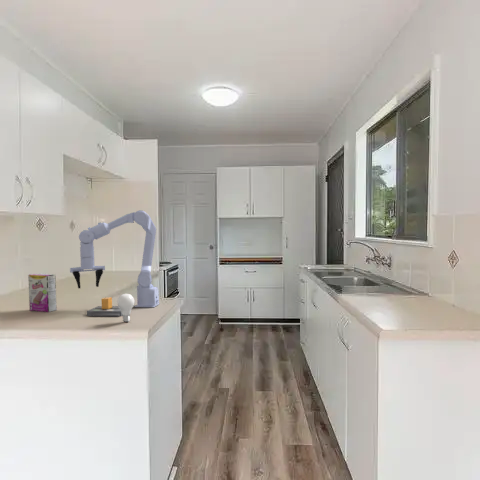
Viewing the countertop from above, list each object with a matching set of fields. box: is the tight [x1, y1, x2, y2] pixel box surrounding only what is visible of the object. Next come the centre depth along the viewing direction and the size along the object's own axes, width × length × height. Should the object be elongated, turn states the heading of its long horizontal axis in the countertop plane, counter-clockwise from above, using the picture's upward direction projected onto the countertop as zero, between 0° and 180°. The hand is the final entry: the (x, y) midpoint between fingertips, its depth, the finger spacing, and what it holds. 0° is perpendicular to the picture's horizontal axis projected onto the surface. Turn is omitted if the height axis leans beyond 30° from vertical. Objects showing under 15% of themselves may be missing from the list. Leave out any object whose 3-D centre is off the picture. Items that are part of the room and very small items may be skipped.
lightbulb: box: [116, 293, 135, 323], centre depth 149 cm, size 6×6×11 cm
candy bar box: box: [27, 273, 57, 313], centre depth 174 cm, size 11×5×16 cm, turn 71°
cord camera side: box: [90, 313, 121, 318], centre depth 160 cm, size 13×1×1 cm, turn 83°
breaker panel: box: [86, 305, 123, 317], centre depth 166 cm, size 15×10×2 cm, turn 83°
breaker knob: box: [101, 296, 113, 309], centre depth 166 cm, size 3×4×4 cm
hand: (88, 287), depth 175 cm, fingers open, 7 cm apart
